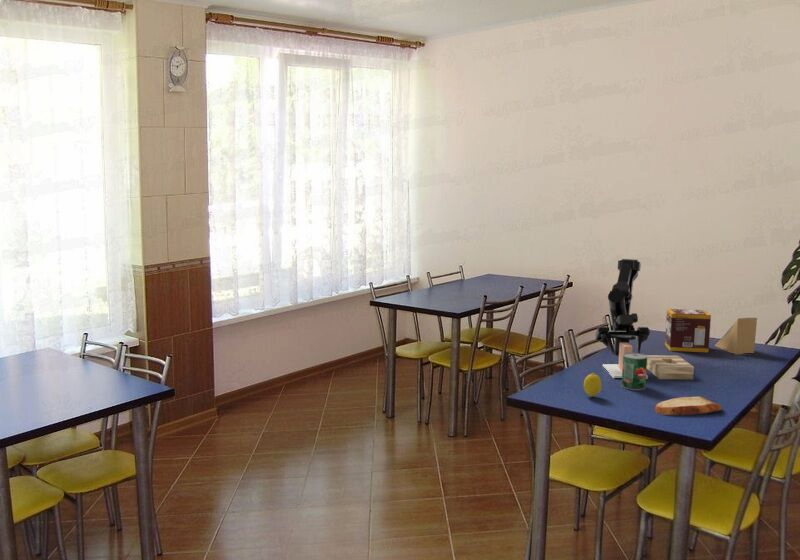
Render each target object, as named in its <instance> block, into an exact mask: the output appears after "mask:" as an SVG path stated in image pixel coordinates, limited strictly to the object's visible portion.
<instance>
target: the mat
mask: <svg viewBox="0 0 800 560" xmlns="http://www.w3.org/2000/svg"><path fill="white" fill-rule="evenodd" d="M618 364H619V363H618ZM618 364H617V363H613V364H612V363H607V364H605V363H602V366H603V367H604V368H605V369H606V370H607V371H608V372H609V373H608V372H607V371H606V370H605V369H604V368H603V367H602V366H601V367H602V368H603V369H604V370H605V371H606V372H607V373H608V375H610V377H612V378H613V379H614V378H622V371H621V370H620V369H619V368H618ZM648 378H649V375H647V374H646V380H648Z"/></svg>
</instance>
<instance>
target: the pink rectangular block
mask: <svg viewBox="0 0 800 560" xmlns="http://www.w3.org/2000/svg"><path fill="white" fill-rule="evenodd" d="M625 353H633V345H632V344H631V343H630V344H629V343H620V345H619V355H618V368H619V369H620V370H621V371H622V369H623V354H625Z"/></svg>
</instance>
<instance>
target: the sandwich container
mask: <svg viewBox="0 0 800 560" xmlns="http://www.w3.org/2000/svg"><path fill="white" fill-rule="evenodd" d="M757 323H758V318H757V317H738V318H737V319H736V321H734V323H733V324H732V326H731V327H730V328H729V329H728V330H727V331H726V332H725V334H724V335H723V336H722V337H721V338H720V339H719V340H718V342H716V344H715V345H714V346H715V347H717V348H719V349H722V350H723V349H724V350H723V351H726V352H729V353H731V354H733V353H734V354H733V355H743V354H742V353H754V354H755V343H756V334H757Z"/></svg>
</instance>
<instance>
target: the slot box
mask: <svg viewBox="0 0 800 560" xmlns="http://www.w3.org/2000/svg"><path fill="white" fill-rule="evenodd" d="M645 355H646V354H645ZM646 356H647V369H646V370H648V371H649V372H650V373H651V374H653V375H654V376H655V377H656V378H658V380H694V374H695V373H694V371H695V367H694V365H692V364H691V363H690V362H688V361H686V360H685V359H683V358H682V357H681V356H679V355H656V354H655V355H648V354H647V355H646Z"/></svg>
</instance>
